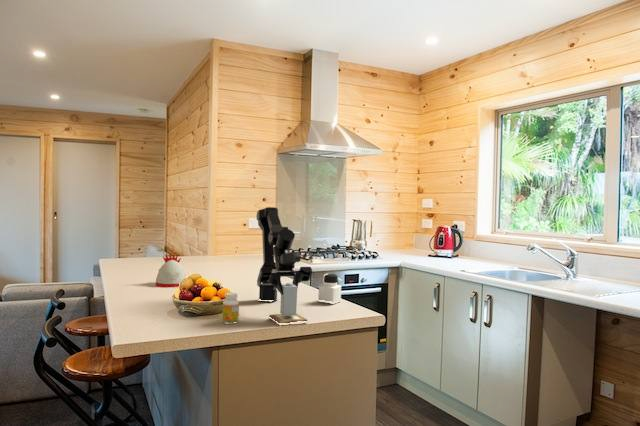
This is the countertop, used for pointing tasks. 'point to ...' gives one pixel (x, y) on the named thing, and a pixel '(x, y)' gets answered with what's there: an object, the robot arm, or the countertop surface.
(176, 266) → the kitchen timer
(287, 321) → the pedestal
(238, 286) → the countertop surface
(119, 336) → the countertop surface
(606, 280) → the countertop surface
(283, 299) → the pillar
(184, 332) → the countertop surface
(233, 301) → the supplement bottle
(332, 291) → the medicine bottle
